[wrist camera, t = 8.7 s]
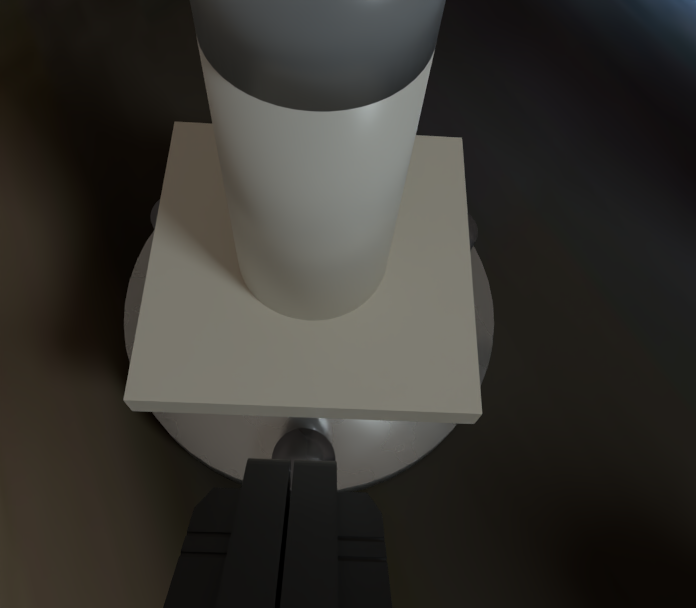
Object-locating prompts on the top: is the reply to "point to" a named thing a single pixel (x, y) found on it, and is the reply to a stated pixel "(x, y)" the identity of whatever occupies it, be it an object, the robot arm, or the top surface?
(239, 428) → the base
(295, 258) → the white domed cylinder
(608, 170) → the top surface
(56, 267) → the top surface
